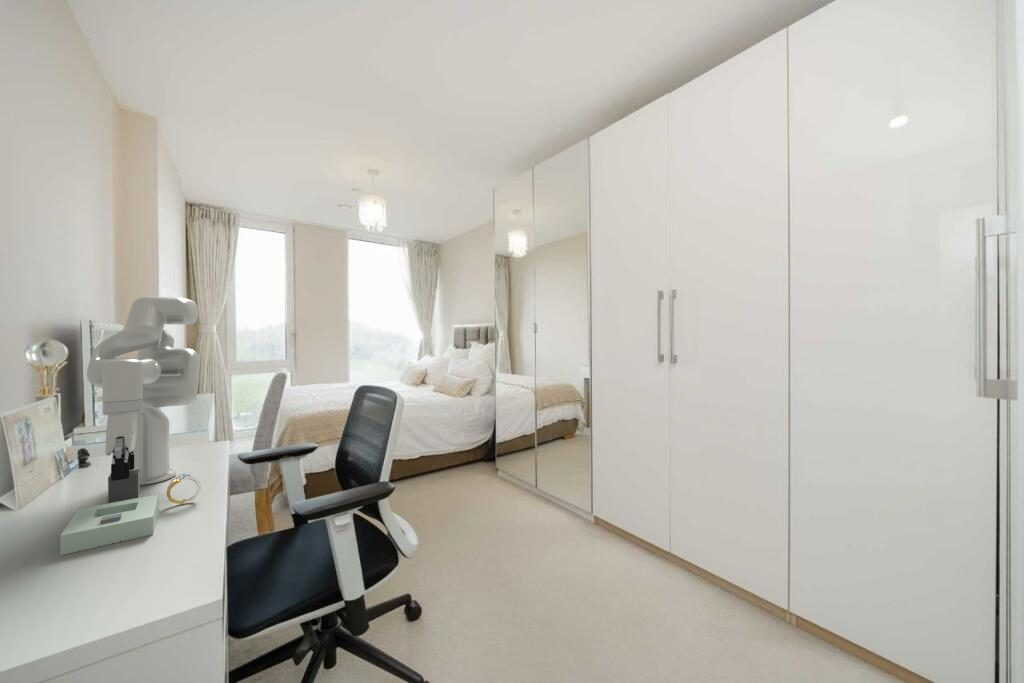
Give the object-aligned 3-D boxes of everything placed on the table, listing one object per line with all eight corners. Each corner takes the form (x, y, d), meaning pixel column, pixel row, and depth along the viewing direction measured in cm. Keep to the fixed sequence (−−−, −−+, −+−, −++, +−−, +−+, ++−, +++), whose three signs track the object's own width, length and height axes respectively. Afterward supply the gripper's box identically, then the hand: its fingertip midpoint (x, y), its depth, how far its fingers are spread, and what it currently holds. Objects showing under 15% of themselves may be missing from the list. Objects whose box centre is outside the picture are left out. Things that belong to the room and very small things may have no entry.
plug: (111, 508, 104) (110, 473, 104) (140, 502, 107) (139, 469, 107) (108, 513, 100) (108, 477, 100) (138, 507, 104) (138, 473, 104)
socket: (79, 525, 94) (78, 505, 94) (158, 509, 103) (158, 491, 102) (60, 555, 81) (60, 531, 81) (153, 534, 90) (152, 512, 90)
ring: (166, 509, 103) (165, 478, 103) (167, 504, 106) (167, 474, 106) (200, 502, 107) (200, 472, 107) (201, 498, 110) (200, 469, 110)
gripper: (108, 405, 108) (108, 470, 107) (95, 412, 94) (95, 486, 94) (146, 402, 112) (146, 464, 112) (139, 409, 99) (139, 479, 98)
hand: (123, 474), depth 103 cm, fingers open, 9 cm apart
